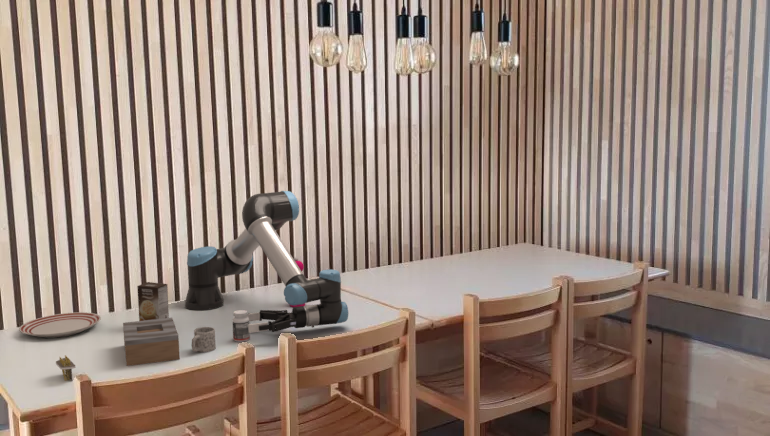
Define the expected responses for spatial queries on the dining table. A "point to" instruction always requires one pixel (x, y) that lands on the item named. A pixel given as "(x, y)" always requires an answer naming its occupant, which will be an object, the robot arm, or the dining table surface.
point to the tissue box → (150, 341)
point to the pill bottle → (240, 326)
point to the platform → (66, 367)
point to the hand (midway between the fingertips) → (244, 323)
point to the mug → (204, 339)
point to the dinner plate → (60, 324)
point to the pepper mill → (302, 272)
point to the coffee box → (153, 301)
